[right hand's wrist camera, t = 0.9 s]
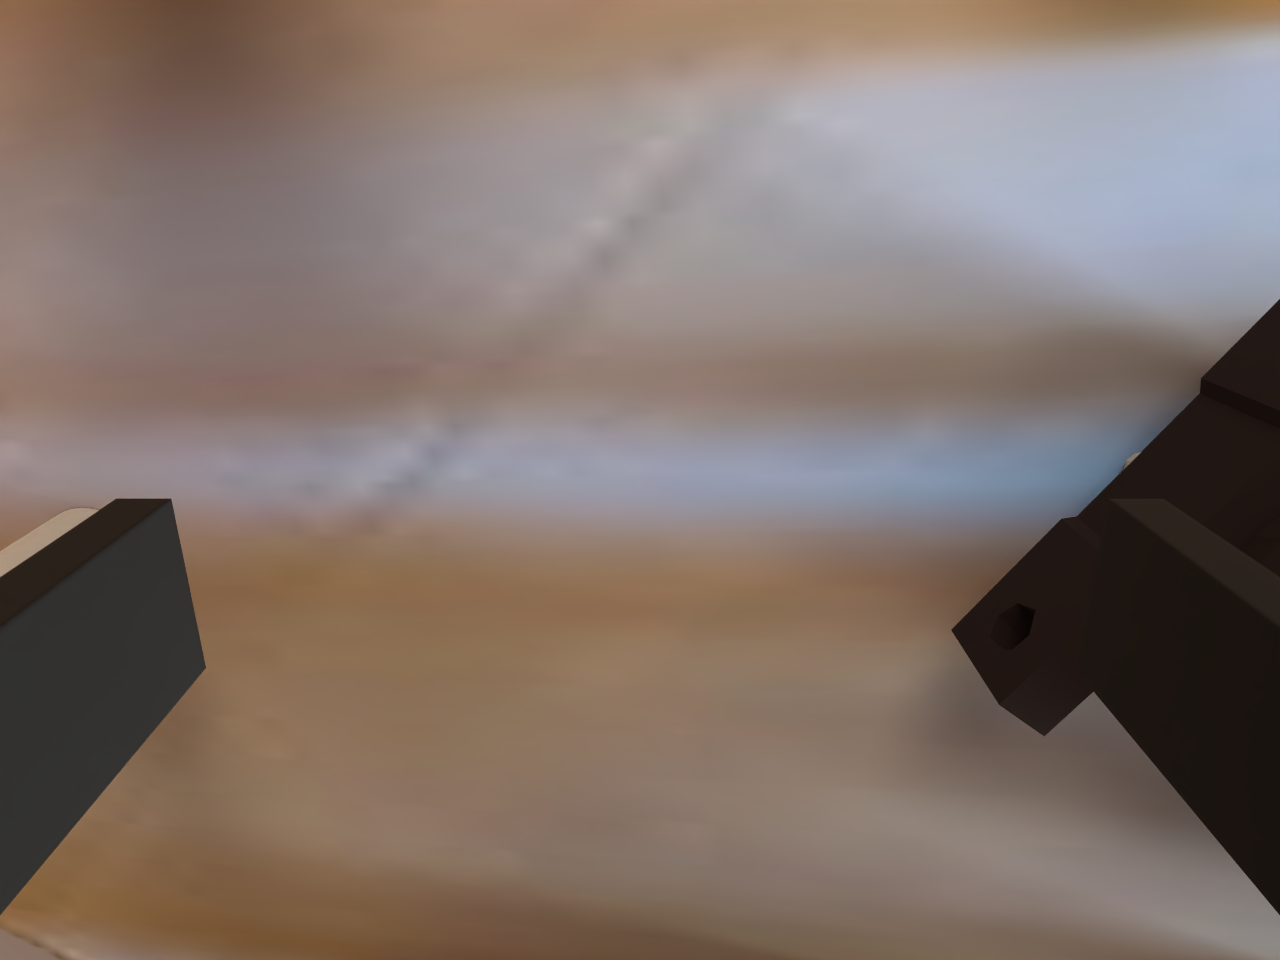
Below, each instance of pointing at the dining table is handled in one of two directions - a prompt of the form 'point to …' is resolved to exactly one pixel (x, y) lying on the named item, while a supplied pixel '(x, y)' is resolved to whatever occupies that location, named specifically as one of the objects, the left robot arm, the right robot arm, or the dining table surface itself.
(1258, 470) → the mechanical component
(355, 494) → the dining table surface
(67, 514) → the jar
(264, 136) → the dining table surface
